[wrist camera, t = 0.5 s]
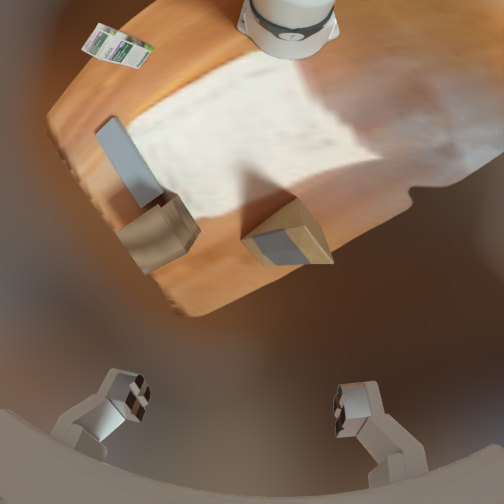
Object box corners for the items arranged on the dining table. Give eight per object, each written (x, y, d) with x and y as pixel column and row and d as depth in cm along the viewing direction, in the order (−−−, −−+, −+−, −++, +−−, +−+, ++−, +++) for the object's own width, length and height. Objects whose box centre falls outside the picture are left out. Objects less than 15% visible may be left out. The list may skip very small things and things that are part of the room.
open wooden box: (138, 214, 56) (115, 233, 47) (175, 190, 53) (155, 205, 44) (163, 251, 60) (145, 275, 51) (201, 231, 57) (186, 253, 48)
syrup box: (139, 70, 41) (98, 60, 29) (120, 59, 40) (79, 49, 27) (155, 47, 39) (118, 31, 26) (136, 37, 38) (97, 21, 25)
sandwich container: (238, 239, 57) (226, 278, 44) (296, 195, 52) (303, 223, 38) (264, 267, 60) (259, 311, 47) (321, 227, 54) (335, 264, 41)
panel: (101, 133, 48) (95, 134, 46) (119, 116, 47) (113, 117, 45) (145, 205, 56) (140, 208, 53) (165, 191, 54) (161, 194, 52)
